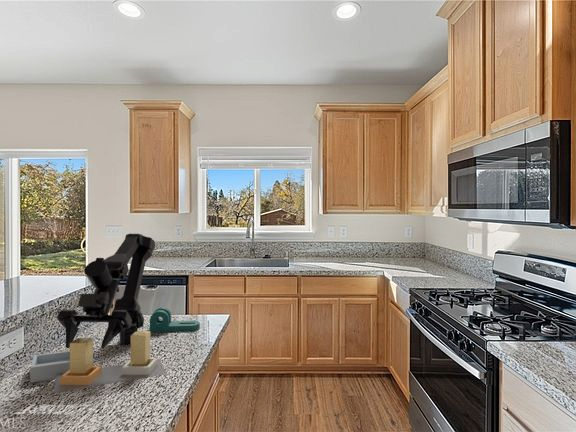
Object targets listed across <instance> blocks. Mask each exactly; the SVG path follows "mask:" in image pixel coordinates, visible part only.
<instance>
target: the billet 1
mask: <svg viewBox="0 0 576 432" xmlns="http://www.w3.org/2000/svg"><path fill="white" fill-rule="evenodd" d="M69 351H70V376H87V375H89V374H90V373H91V372H92V371H93V366H94V338H91V337H90V338H89V337H88V338H87V337H85V338H84V337H78V338H75V339H74V340H73V341H72V342H71V343H70V347H69Z"/></svg>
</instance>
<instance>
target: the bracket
mask: <svg viewBox="0 0 576 432" xmlns="http://www.w3.org/2000/svg"><path fill="white" fill-rule="evenodd" d="M171 313H172V312H171V311H170V309H168V307H164V306H163V307H158V308H156V309H155V310H154V312H153V313H152V315H151V316H150V318H149V331H150V333H168V332H169V333H172V332H171V331H177V332H194V331H199V330H200V328H201V324H200V323H201V322H200V321H198V320H177V321H176V320H174V321H173V320H172V314H171Z"/></svg>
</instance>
